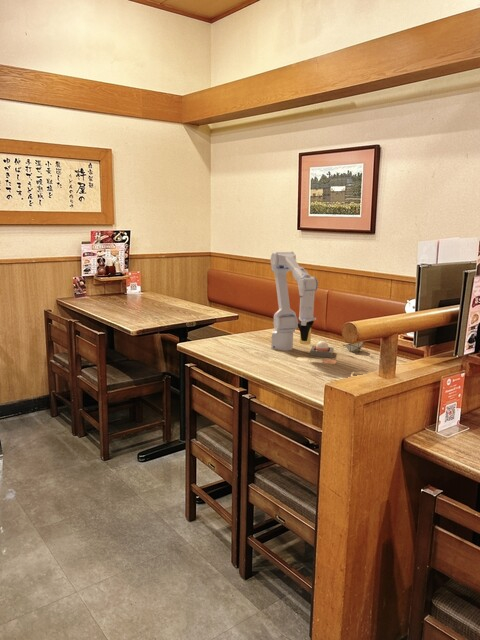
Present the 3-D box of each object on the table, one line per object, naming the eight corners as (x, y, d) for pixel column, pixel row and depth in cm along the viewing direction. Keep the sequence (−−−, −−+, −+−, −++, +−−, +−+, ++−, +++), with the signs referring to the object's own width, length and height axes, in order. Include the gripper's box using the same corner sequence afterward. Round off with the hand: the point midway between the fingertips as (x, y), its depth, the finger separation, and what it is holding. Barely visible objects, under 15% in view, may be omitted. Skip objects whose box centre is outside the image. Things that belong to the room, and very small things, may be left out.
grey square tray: (310, 356, 214) (310, 350, 213) (312, 350, 222) (312, 345, 222) (331, 358, 212) (331, 352, 211) (333, 352, 220) (333, 347, 220)
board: (295, 364, 204) (295, 361, 204) (302, 350, 225) (303, 348, 225) (337, 368, 200) (337, 365, 200) (341, 354, 221) (341, 352, 221)
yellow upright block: (298, 343, 205) (299, 328, 204) (300, 341, 209) (301, 326, 208) (309, 344, 204) (310, 329, 203) (311, 342, 208) (311, 327, 207)
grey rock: (356, 361, 224) (365, 347, 216) (339, 353, 225) (347, 339, 217) (360, 348, 230) (369, 334, 223) (343, 340, 231) (351, 326, 223)
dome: (314, 353, 215) (315, 341, 214) (316, 350, 220) (316, 339, 219) (327, 354, 213) (328, 343, 212) (329, 351, 219) (329, 340, 218)
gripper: (314, 310, 196) (312, 344, 198) (318, 304, 210) (316, 336, 212) (296, 309, 198) (294, 342, 200) (301, 303, 211) (300, 335, 214)
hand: (305, 339), depth 206 cm, fingers closed on yellow upright block, 4 cm apart
